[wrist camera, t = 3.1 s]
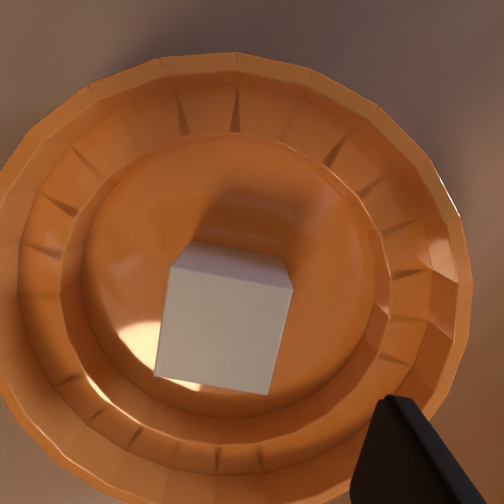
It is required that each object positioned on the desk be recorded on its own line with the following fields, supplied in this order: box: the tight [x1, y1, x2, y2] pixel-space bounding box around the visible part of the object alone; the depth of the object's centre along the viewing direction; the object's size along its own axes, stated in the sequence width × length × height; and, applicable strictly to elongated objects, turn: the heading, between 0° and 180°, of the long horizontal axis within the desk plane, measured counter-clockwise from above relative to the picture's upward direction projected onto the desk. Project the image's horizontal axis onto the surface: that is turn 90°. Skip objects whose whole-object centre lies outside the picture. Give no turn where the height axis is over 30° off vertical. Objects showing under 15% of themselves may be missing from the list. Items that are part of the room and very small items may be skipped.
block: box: [154, 240, 293, 395], centre depth 15 cm, size 4×4×4 cm
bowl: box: [0, 52, 473, 504], centre depth 16 cm, size 19×19×4 cm
